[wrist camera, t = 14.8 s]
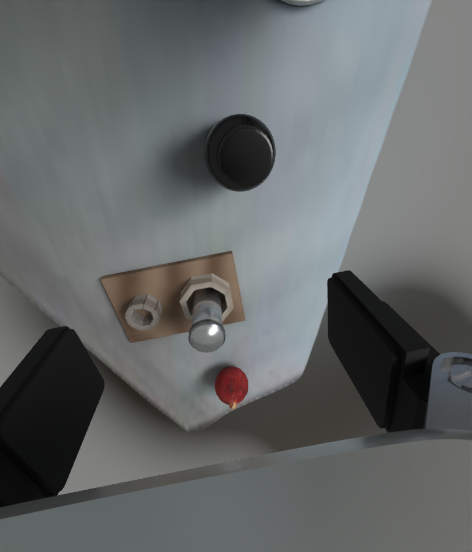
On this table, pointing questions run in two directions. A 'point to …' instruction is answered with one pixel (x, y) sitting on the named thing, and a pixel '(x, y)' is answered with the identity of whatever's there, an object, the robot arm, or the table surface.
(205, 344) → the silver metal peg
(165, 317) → the fitting board
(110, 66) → the table surface
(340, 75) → the table surface
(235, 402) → the onion
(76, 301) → the table surface
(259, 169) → the supplement bottle
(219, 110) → the table surface
